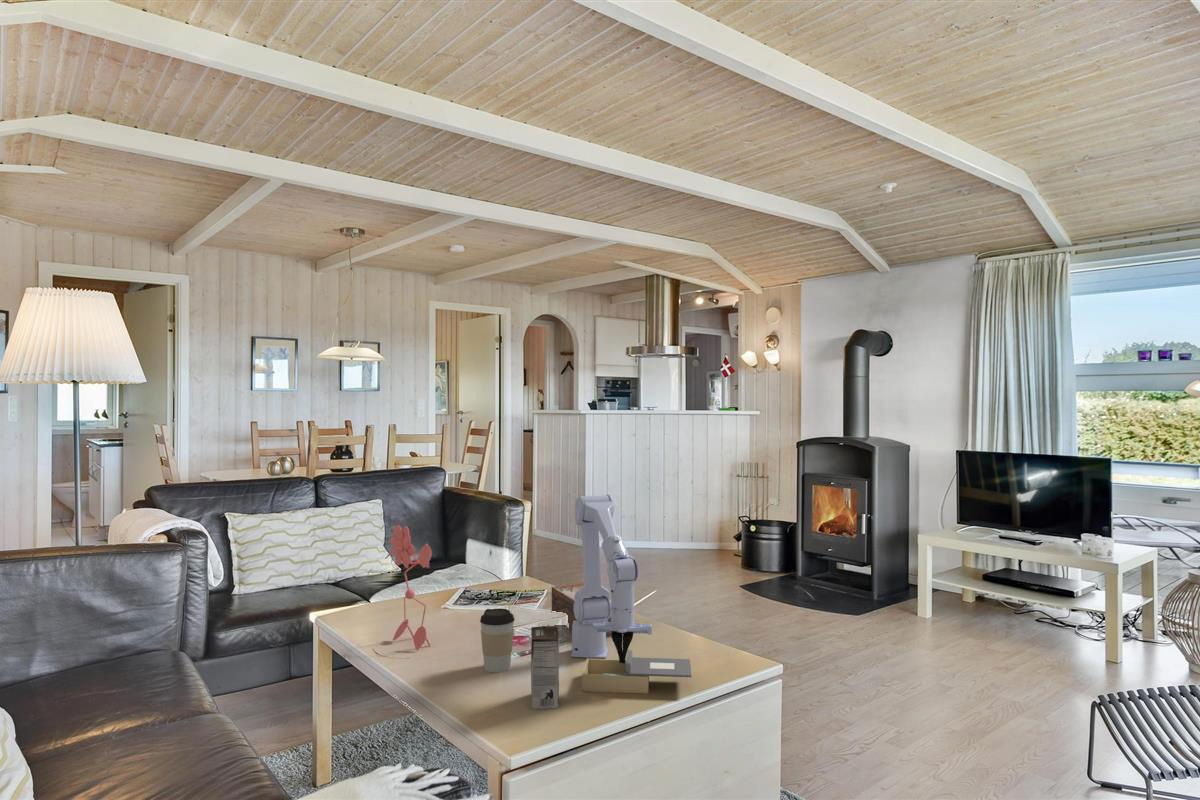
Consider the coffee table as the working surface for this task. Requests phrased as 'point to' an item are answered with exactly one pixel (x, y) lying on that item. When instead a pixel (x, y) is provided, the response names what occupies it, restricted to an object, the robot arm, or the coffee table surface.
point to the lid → (657, 666)
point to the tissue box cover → (568, 601)
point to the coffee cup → (497, 639)
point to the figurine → (403, 552)
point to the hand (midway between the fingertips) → (622, 661)
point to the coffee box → (544, 667)
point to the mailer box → (611, 677)
